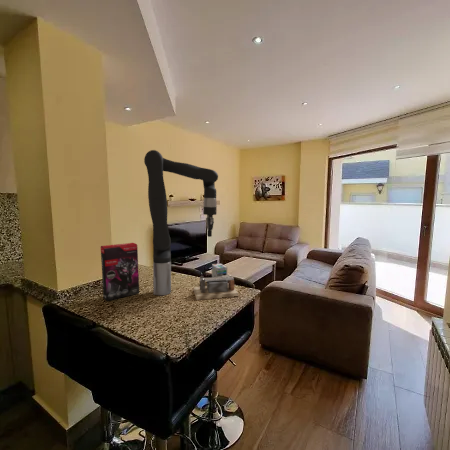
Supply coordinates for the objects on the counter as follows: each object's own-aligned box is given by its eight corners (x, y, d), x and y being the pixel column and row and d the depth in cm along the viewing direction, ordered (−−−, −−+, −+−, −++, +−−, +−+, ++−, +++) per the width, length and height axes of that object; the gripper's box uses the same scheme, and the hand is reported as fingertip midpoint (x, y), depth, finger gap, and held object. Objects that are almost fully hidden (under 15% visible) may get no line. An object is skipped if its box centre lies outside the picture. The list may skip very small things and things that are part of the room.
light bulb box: (227, 284, 151) (227, 267, 150) (217, 285, 149) (217, 268, 148) (221, 279, 161) (221, 263, 160) (211, 280, 159) (211, 264, 158)
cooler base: (196, 299, 127) (196, 282, 126) (193, 290, 140) (193, 274, 140) (238, 296, 132) (238, 279, 131) (231, 287, 145) (231, 272, 145)
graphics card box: (105, 302, 123) (104, 247, 120) (101, 298, 128) (99, 245, 125) (139, 294, 134) (138, 243, 132) (134, 290, 139) (133, 242, 137)
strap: (201, 282, 132) (201, 278, 132) (200, 280, 135) (200, 276, 135) (233, 280, 136) (234, 276, 136) (232, 278, 139) (232, 274, 139)
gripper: (201, 205, 147) (201, 235, 149) (205, 206, 135) (204, 238, 136) (214, 206, 149) (213, 235, 150) (218, 206, 136) (218, 238, 138)
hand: (209, 236), depth 143 cm, fingers closed
